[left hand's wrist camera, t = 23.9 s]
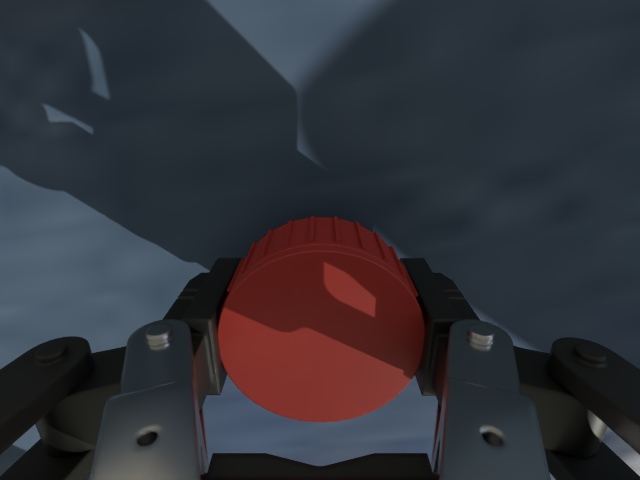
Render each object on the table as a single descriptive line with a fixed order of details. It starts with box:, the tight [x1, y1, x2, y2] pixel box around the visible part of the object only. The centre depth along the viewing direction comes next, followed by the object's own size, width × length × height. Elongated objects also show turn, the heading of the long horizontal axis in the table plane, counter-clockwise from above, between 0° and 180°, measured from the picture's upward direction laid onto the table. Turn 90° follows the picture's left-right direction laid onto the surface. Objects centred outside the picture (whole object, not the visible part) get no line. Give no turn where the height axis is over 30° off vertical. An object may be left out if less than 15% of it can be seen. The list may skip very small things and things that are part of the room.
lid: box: [218, 216, 425, 422], centre depth 10 cm, size 5×5×2 cm
